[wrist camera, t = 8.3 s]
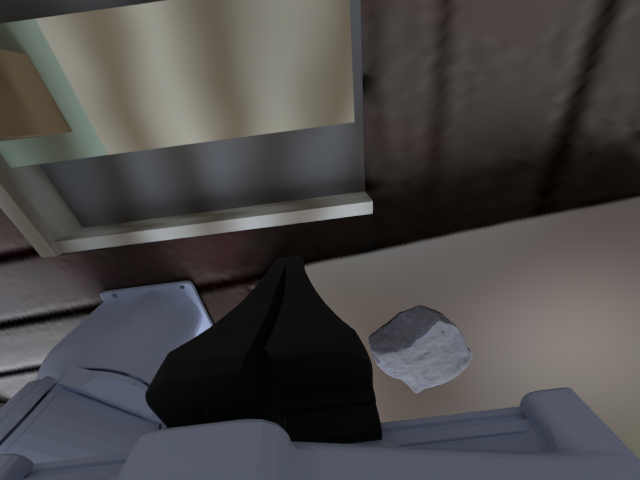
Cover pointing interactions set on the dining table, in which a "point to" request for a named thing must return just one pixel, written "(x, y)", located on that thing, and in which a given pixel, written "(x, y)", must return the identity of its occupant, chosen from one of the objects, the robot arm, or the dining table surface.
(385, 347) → the stone block
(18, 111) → the walnut cube
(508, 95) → the dining table surface
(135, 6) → the box
